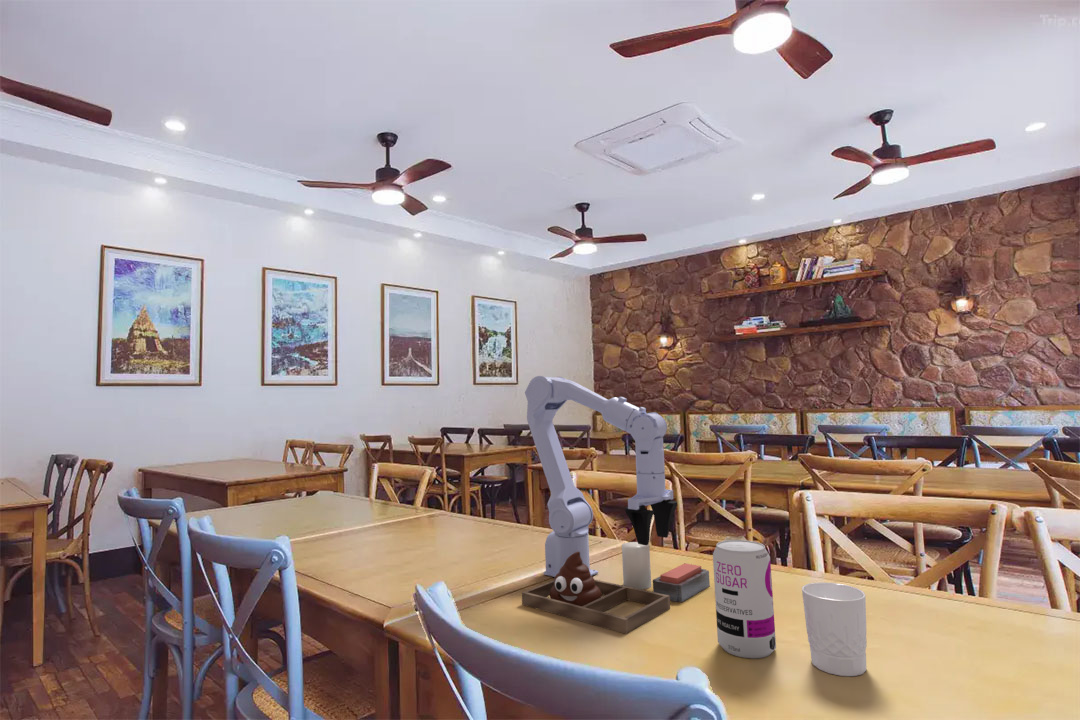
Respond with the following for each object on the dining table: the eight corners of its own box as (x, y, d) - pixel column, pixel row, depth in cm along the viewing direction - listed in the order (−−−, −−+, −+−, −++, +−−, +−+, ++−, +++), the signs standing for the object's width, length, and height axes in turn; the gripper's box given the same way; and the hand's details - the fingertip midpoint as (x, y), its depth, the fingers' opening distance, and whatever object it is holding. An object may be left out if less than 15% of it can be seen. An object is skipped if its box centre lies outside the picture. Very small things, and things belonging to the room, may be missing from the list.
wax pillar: (618, 586, 116) (616, 546, 116) (633, 579, 120) (631, 540, 120) (641, 591, 112) (639, 550, 113) (656, 584, 116) (654, 544, 117)
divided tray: (522, 604, 107) (521, 592, 107) (570, 584, 118) (569, 574, 118) (626, 633, 92) (625, 619, 92) (670, 608, 102) (669, 595, 102)
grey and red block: (652, 596, 109) (651, 580, 109) (683, 580, 118) (682, 565, 118) (681, 602, 105) (680, 586, 105) (710, 585, 114) (709, 570, 114)
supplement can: (774, 640, 87) (767, 540, 89) (778, 663, 80) (770, 553, 81) (719, 634, 90) (713, 538, 91) (717, 657, 82) (711, 551, 83)
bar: (660, 591, 109) (660, 575, 109) (685, 578, 116) (684, 563, 117) (678, 594, 107) (677, 578, 107) (702, 581, 114) (701, 566, 114)
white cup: (795, 655, 82) (791, 584, 83) (847, 651, 83) (842, 580, 83) (827, 681, 74) (822, 602, 75) (884, 676, 75) (878, 598, 76)
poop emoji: (607, 597, 110) (605, 547, 110) (592, 612, 102) (590, 559, 103) (559, 592, 114) (558, 544, 114) (541, 606, 106) (540, 554, 107)
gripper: (649, 477, 108) (652, 551, 107) (685, 469, 119) (688, 536, 118) (617, 475, 112) (620, 545, 111) (655, 467, 123) (658, 531, 122)
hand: (653, 540), depth 115 cm, fingers open, 7 cm apart
